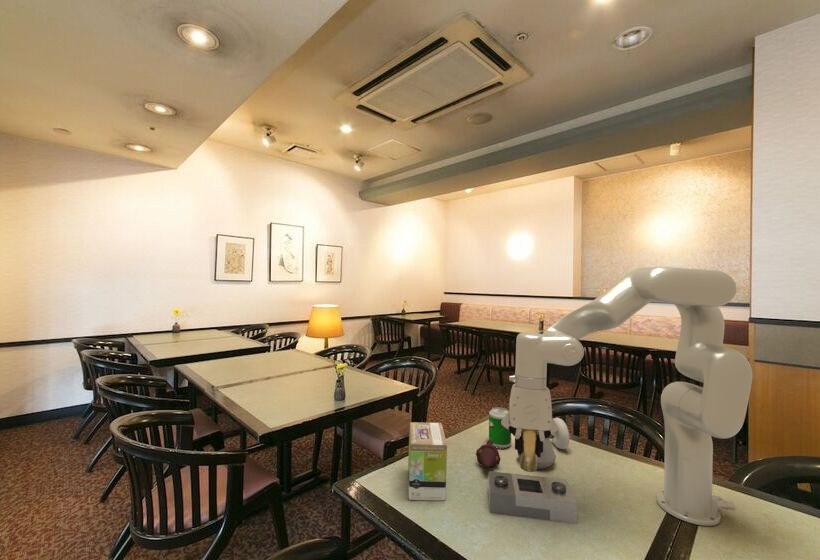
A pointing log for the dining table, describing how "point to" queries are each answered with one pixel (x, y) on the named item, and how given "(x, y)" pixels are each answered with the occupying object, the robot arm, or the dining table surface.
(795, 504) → the dining table surface
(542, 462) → the coffee pot
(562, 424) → the donut
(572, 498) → the grey rectangular block
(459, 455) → the dining table surface
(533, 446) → the pin
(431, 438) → the tea box
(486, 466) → the icecream
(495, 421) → the soda can
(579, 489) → the dining table surface
